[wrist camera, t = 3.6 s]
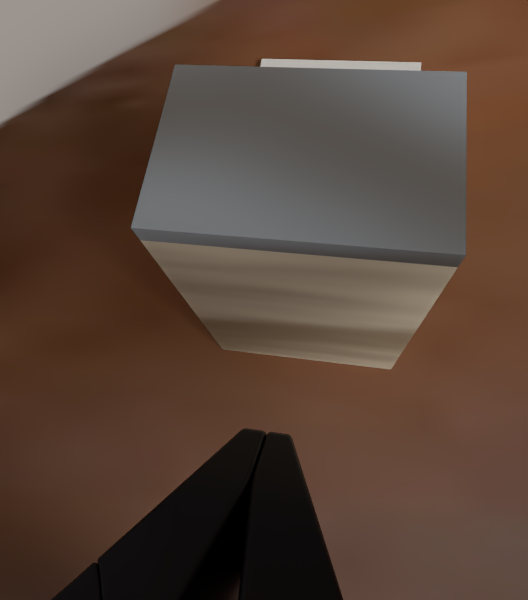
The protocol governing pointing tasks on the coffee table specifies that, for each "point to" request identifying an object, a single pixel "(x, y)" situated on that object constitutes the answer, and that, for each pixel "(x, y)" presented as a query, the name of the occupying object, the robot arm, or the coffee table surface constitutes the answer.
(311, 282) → the birch block
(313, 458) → the coffee table surface
